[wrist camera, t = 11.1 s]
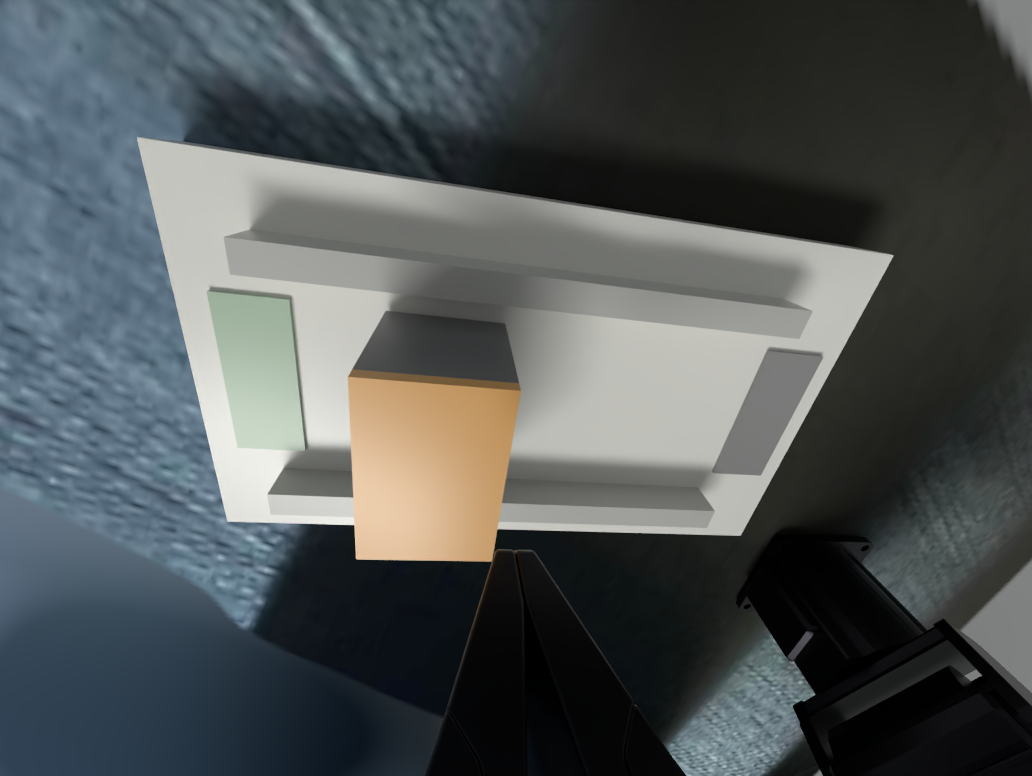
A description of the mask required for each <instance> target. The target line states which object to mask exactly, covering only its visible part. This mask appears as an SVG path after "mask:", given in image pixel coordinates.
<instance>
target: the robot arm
mask: <svg viewBox="0 0 1032 776" xmlns="http://www.w3.org/2000/svg"><path fill="white" fill-rule="evenodd" d="M872 548H873V544H872V543H871V542H870V541H869V540H868V539H867V538H865V537H836V536H801V535H781V536H778V537H776V538H775V539H774V540H773V541H772V543H771V545H770V546H769V548H768V550H767V551H766V553H765V555H764V556H763V558H762V560H761V561H760V563H759V565H758V566H757V568H756V570H755V571H754V573H753V575H752V576H751V578H750V580H749V581H748V583H747V585H746V586H745V588H744V590H743V591H742V593H741V595H740V596H739V598H738V600H737V601H736V604H737V606H738V607H739V609H740V610H741V611H744V612H750V611H757V613H758V615H759V616H760V618H761V619H762V621H763V622H764V624H765V625H766V627H767V628H768V630H769V631H770V633H771V635H772V636H773V638H774V639H775V641H776V642H777V644H778V645H779V647H780V648H781V650H782V652H783V653H784V655H785V656H786V657H787V659H788V660H789V661H794V662H795V663H796V665H797V667H798V668H799V670H800V671H801V673H802V674H803V676H804V677H805V679H806V680H807V682H808V683H809V685H810V686H811V688H812V689H813V691H814V692H815V694H816V695H815V696H813V697H811V698H810V699H808V700H806V701H805V702H803V701H800V702H798V703H796V704H795V705H793V708H794V711H795V713H796V715H797V717H798V719H799V722H800V727H801V729H802V731H803V733H804V735H805V738H806V740H807V742H808V744H809V746H810V749H811V751H812V753H813V755H814V757H815V759H816V762H817V764H818V766H819V768H820V770H821V772H822V775H823V776H1032V693H1031V692H1030V691H1029V690H1028V689H1027V688H1026V687H1024V685H1022V684H1021V683H1020V682H1019V681H1018V680H1017V679H1016V678H1015V677H1014V676H1013V675H1011V674H1010V673H1009V672H1008V671H1007V670H1006V669H1005V668H1004V667H1003V666H1001V664H999V663H998V662H997V661H996V660H995V659H994V658H993V657H992V656H991V655H990V654H989V653H987V652H986V651H985V650H984V649H983V648H982V647H981V646H980V645H978V644H977V643H976V642H974V641H973V640H972V639H970V638H969V637H968V636H966V635H965V634H964V633H962V632H961V631H960V630H958V629H957V628H956V627H954V626H953V625H952V624H950V623H949V622H948V621H946V620H945V619H944V618H943V619H941V620H940V621H938V622H936V623H934V624H933V625H934V627H933V628H931V629H929V630H927V629H926V628H925V627H924V626H923V625H922V624H921V623H920V622H919V621H918V620H917V619H916V618H915V617H914V616H913V615H912V614H911V613H910V612H909V611H908V610H907V609H906V608H905V607H904V606H903V605H902V604H901V603H900V602H899V601H898V600H897V599H896V598H895V597H894V596H893V595H892V594H891V593H890V592H889V591H888V590H887V589H886V588H885V587H884V586H883V585H882V584H881V583H880V582H879V581H878V580H877V579H876V578H875V577H874V576H873V575H872V574H871V573H870V572H869V571H868V570H867V569H866V568H865V567H864V566H863V565H862V564H861V562H862V561H863V560H864V558H865V557H866V556H867V554H868V553H869V552H870V551H871V549H872ZM976 669H977V670H978V672H979V673H981V674H982V676H981V677H979V678H977V679H975V680H973V681H970V680H969V679H967V678H966V677H965V676H964V675H966V674H968V673H970V672H972V671H974V670H976ZM633 704H634V701H633V699H632V698H631V696H630V695H629V693H628V692H627V690H626V688H625V687H624V685H623V684H622V682H621V681H620V679H619V678H618V676H617V675H616V673H615V672H614V670H613V669H612V667H611V666H610V664H609V663H608V661H607V660H606V658H605V657H604V655H603V654H602V652H601V651H600V649H599V648H598V646H597V645H596V643H595V642H594V640H593V639H592V637H591V636H590V634H589V633H588V631H587V630H586V628H585V627H584V625H583V624H582V622H581V621H580V619H579V618H578V616H577V615H576V613H575V612H574V610H573V609H572V607H571V606H570V604H569V603H568V601H567V600H566V598H565V597H564V595H563V594H562V592H561V591H560V589H559V588H558V586H557V585H556V583H555V582H554V580H553V579H552V577H551V576H550V574H549V573H548V571H547V570H546V568H545V567H544V565H543V564H542V562H541V561H540V559H539V558H538V556H537V555H536V553H535V552H534V551H532V550H516V551H515V552H514V551H513V550H503V549H498V550H496V552H495V554H494V558H493V561H492V564H491V567H490V570H489V574H488V577H487V580H486V583H485V586H484V590H483V593H482V596H481V599H480V603H479V606H478V609H477V612H476V615H475V619H474V622H473V625H472V628H471V631H470V635H469V638H468V641H467V644H466V648H465V651H464V654H463V657H462V660H461V664H460V667H459V670H458V673H457V676H456V680H455V683H454V686H453V689H452V693H451V696H450V699H449V702H448V705H447V709H446V714H445V715H444V717H443V721H442V724H441V727H440V730H439V734H438V737H437V740H436V743H435V746H434V749H433V752H432V754H431V758H430V760H429V763H428V766H427V769H426V772H425V775H424V776H686V775H685V773H684V772H683V771H682V769H681V768H680V767H679V765H678V764H677V763H676V761H675V760H674V759H673V758H672V756H671V755H670V753H669V752H668V750H667V749H666V748H665V746H664V745H663V743H662V742H661V740H660V739H659V737H658V736H657V735H656V733H655V732H654V730H653V729H652V727H651V726H650V724H649V723H648V721H647V720H646V718H645V717H644V715H643V714H642V712H641V711H640V709H639V708H638V706H637V705H633Z"/></svg>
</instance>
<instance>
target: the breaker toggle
mask: <svg viewBox="0 0 1032 776" xmlns="http://www.w3.org/2000/svg"><path fill="white" fill-rule="evenodd" d="M348 392H349V414H350V436H351V458H352V480H353V502H354V524H355V546H356V559H363V560H429V561H492V557H493V552H494V546H495V540H496V534H497V528H498V522H499V516H500V511H501V505H502V499H503V493H504V487H505V481H506V476H507V470H508V464H509V458H510V452H511V446H512V441H513V435H514V429H515V423H516V417H517V411H518V406H519V400H520V394H521V389H520V384H519V380H518V376H517V372H516V367H515V363H514V359H513V355H512V350H511V346H510V342H509V337H508V333H507V329H506V325H505V323H496V322H487V321H477V320H468V319H459V318H449V317H440V316H430V315H421V314H412V313H402V312H393V311H385V313H384V315H383V316H382V318H381V320H380V322H379V323H378V325H377V327H376V329H375V330H374V332H373V334H372V336H371V337H370V339H369V341H368V343H367V344H366V346H365V348H364V349H363V351H362V353H361V355H360V356H359V358H358V360H357V362H356V363H355V365H354V367H353V369H352V370H351V372H350V374H349V376H348Z"/></svg>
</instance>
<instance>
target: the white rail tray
mask: <svg viewBox="0 0 1032 776" xmlns="http://www.w3.org/2000/svg"><path fill="white" fill-rule="evenodd" d="M137 140H138V144H139V149H140V153H141V157H142V161H143V166H144V170H145V174H146V178H147V183H148V187H149V191H150V195H151V199H152V204H153V208H154V212H155V216H156V221H157V225H158V229H159V233H160V238H161V242H162V246H163V250H164V254H165V259H166V263H167V267H168V271H169V276H170V280H171V284H172V288H173V293H174V297H175V301H176V305H177V310H178V314H179V318H180V322H181V326H182V331H183V335H184V339H185V343H186V348H187V352H188V356H189V360H190V365H191V369H192V373H193V377H194V382H195V386H196V390H197V394H198V398H199V403H200V407H201V411H202V415H203V420H204V424H205V428H206V432H207V437H208V441H209V445H210V449H211V453H212V458H213V462H214V466H215V470H216V475H217V479H218V483H219V487H220V492H221V496H222V500H223V504H224V509H225V513H226V517H227V521H228V522H263V523H300V524H336V525H355V524H354V502H353V480H352V458H351V436H350V414H349V392H348V376H349V374H350V372H351V370H352V369H353V367H354V365H355V363H356V362H357V360H358V358H359V356H360V355H361V353H362V351H363V349H364V348H365V346H366V344H367V343H368V341H369V339H370V337H371V336H372V334H373V332H374V330H375V329H376V327H377V325H378V323H379V322H380V320H381V318H382V316H383V315H384V313H385V311H393V312H402V313H412V314H421V315H430V316H440V317H449V318H459V319H468V320H477V321H487V322H496V323H505V325H506V329H507V333H508V337H509V342H510V346H511V350H512V355H513V359H514V363H515V367H516V372H517V376H518V380H519V384H520V389H521V394H520V400H519V406H518V411H517V417H516V423H515V429H514V435H513V441H512V446H511V452H510V458H509V464H508V470H507V476H506V481H505V487H504V493H503V499H502V505H501V511H500V516H499V522H498V528H497V529H517V530H553V531H589V532H625V533H662V534H698V535H734V536H741V534H742V532H743V530H744V528H745V527H746V525H747V523H748V521H749V519H750V517H751V516H752V514H753V512H754V510H755V508H756V507H757V505H758V503H759V501H760V499H761V497H762V496H763V494H764V492H765V490H766V488H767V486H768V485H769V483H770V481H771V479H772V477H773V475H774V474H775V472H776V470H777V468H778V466H779V464H780V463H781V461H782V459H783V457H784V455H785V453H786V452H787V450H788V448H789V446H790V444H791V442H792V441H793V439H794V437H795V435H796V433H797V432H798V430H799V428H800V426H801V424H802V422H803V421H804V419H805V417H806V415H807V413H808V411H809V410H810V408H811V406H812V404H813V402H814V400H815V399H816V397H817V395H818V393H819V391H820V389H821V388H822V386H823V384H824V382H825V380H826V378H827V377H828V375H829V373H830V371H831V369H832V367H833V366H834V364H835V362H836V360H837V358H838V356H839V355H840V353H841V351H842V349H843V347H844V346H845V344H846V342H847V340H848V338H849V336H850V335H851V333H852V331H853V329H854V327H855V325H856V324H857V322H858V320H859V318H860V316H861V314H862V313H863V311H864V309H865V307H866V305H867V303H868V302H869V300H870V298H871V296H872V294H873V292H874V291H875V289H876V287H877V285H878V283H879V281H880V280H881V278H882V276H883V274H884V272H885V270H886V269H887V267H888V265H889V263H890V261H891V260H892V258H893V256H894V255H890V254H886V253H881V252H876V251H871V250H866V249H862V248H857V247H852V246H847V245H840V244H834V243H828V242H821V241H815V240H809V239H802V238H796V237H789V236H783V235H777V234H770V233H764V232H758V231H751V230H745V229H738V228H732V227H726V226H719V225H713V224H707V223H700V222H694V221H687V220H681V219H675V218H668V217H662V216H656V215H649V214H643V213H637V212H630V211H624V210H617V209H611V208H605V207H598V206H592V205H586V204H579V203H573V202H566V201H560V200H554V199H547V198H541V197H535V196H528V195H522V194H515V193H509V192H503V191H496V190H490V189H484V188H477V187H471V186H465V185H458V184H452V183H445V182H439V181H433V180H426V179H420V178H414V177H407V176H401V175H394V174H388V173H382V172H375V171H369V170H363V169H356V168H350V167H343V166H337V165H331V164H324V163H318V162H312V161H305V160H299V159H293V158H286V157H280V156H273V155H267V154H261V153H254V152H248V151H242V150H235V149H229V148H222V147H216V146H210V145H203V144H197V143H191V142H184V141H174V140H163V139H152V138H140V137H137Z"/></svg>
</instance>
